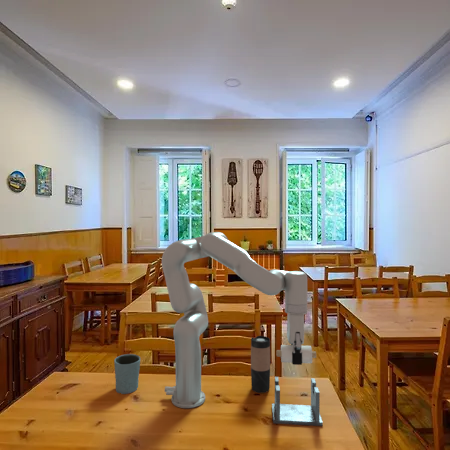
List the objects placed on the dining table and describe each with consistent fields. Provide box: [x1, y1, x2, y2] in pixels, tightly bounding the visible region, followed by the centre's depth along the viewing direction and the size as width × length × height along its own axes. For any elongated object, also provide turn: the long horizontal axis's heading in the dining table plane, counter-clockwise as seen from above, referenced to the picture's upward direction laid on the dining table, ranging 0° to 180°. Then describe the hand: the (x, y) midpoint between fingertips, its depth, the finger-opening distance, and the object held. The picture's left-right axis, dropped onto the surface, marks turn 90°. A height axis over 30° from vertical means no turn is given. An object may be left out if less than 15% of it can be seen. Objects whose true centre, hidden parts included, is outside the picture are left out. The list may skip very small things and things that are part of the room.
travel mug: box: [250, 335, 271, 394], centre depth 135 cm, size 8×8×20 cm
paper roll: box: [276, 344, 317, 364], centre depth 116 cm, size 13×6×6 cm, turn 84°
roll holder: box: [271, 376, 323, 427], centre depth 116 cm, size 16×10×11 cm, turn 84°
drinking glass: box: [113, 353, 141, 395], centre depth 135 cm, size 10×10×12 cm
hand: (296, 359), depth 116 cm, fingers closed on paper roll, 5 cm apart
